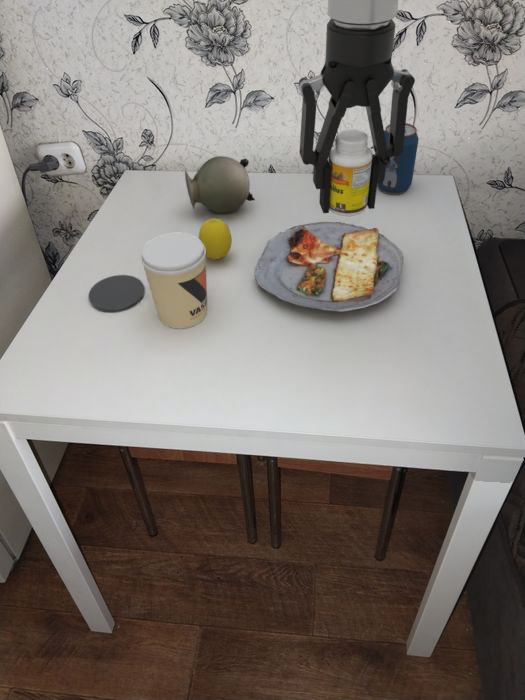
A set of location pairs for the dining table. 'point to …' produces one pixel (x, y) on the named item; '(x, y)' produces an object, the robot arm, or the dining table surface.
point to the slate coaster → (116, 293)
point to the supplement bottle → (350, 173)
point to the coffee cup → (177, 278)
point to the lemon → (215, 238)
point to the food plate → (330, 266)
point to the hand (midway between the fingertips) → (346, 205)
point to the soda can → (401, 163)
